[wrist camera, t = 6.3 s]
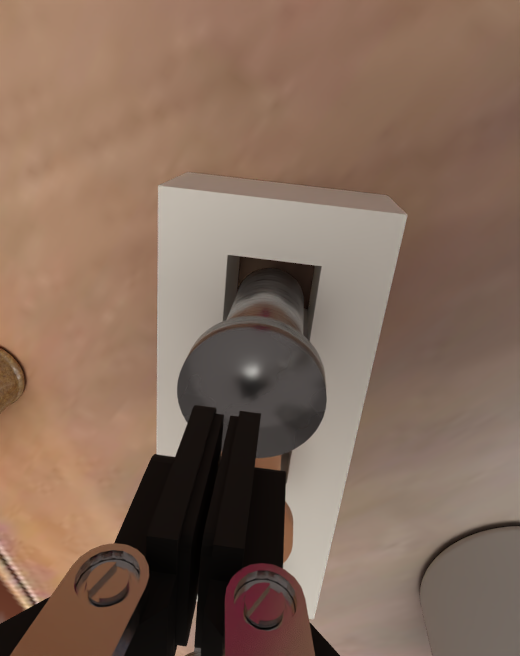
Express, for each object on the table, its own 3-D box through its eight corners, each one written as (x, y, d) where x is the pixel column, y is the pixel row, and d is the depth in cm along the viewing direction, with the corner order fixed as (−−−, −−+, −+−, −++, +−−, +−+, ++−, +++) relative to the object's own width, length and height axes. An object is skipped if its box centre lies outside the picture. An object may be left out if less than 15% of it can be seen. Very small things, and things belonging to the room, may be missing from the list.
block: (387, 195, 23) (407, 214, 18) (312, 550, 33) (313, 619, 29) (187, 171, 23) (158, 185, 19) (175, 530, 34) (155, 595, 29)
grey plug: (326, 258, 20) (338, 341, 13) (311, 349, 22) (314, 467, 14) (225, 246, 20) (178, 320, 13) (218, 337, 22) (175, 447, 15)
